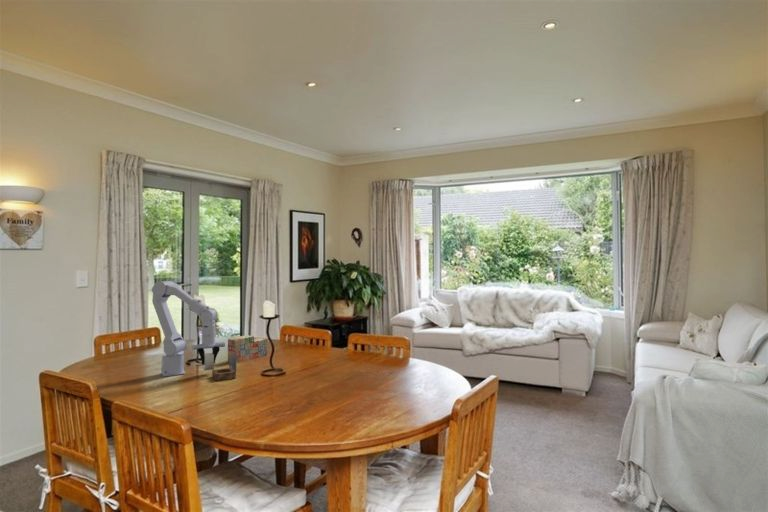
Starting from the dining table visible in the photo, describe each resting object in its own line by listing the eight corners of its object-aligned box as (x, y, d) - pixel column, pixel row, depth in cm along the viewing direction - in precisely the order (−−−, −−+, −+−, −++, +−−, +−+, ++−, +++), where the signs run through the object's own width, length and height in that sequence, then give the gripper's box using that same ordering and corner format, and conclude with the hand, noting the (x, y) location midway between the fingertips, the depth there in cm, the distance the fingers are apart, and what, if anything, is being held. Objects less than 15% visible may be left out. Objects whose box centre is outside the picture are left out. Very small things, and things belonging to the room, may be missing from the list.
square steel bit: (204, 370, 200) (204, 355, 200) (203, 368, 203) (203, 353, 203) (213, 369, 202) (213, 354, 202) (212, 367, 205) (212, 352, 205)
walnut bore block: (216, 381, 192) (216, 374, 192) (212, 376, 199) (212, 370, 199) (235, 378, 196) (235, 371, 196) (231, 373, 203) (231, 367, 203)
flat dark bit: (232, 372, 205) (232, 358, 205) (229, 370, 210) (229, 355, 210) (236, 372, 206) (236, 357, 206) (233, 369, 211) (233, 355, 211)
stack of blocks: (259, 354, 245) (259, 332, 245) (267, 355, 241) (267, 333, 241) (227, 361, 227) (227, 338, 227) (235, 363, 223) (235, 339, 223)
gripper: (193, 337, 195) (193, 367, 195) (226, 334, 203) (226, 363, 203) (190, 335, 201) (190, 364, 201) (223, 332, 209) (223, 360, 209)
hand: (208, 363), depth 202 cm, fingers closed on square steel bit, 4 cm apart
